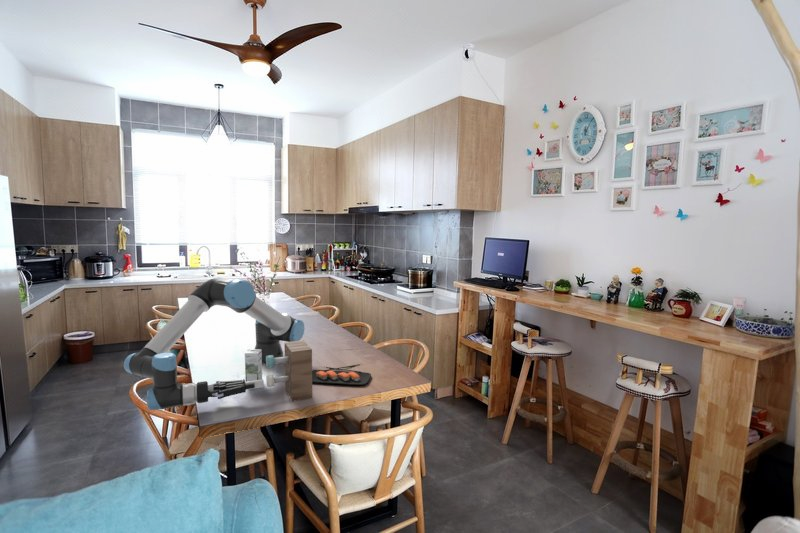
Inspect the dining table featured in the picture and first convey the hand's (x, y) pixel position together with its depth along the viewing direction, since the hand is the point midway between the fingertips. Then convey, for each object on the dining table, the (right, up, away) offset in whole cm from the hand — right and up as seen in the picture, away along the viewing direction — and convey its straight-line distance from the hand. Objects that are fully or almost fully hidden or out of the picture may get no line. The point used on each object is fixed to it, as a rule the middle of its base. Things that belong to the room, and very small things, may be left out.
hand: (263, 383), depth 163 cm
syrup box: (-10, -5, +18) cm, 21 cm away
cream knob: (+6, -2, +4) cm, 7 cm away
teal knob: (+6, +6, +3) cm, 9 cm away
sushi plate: (+27, -5, +31) cm, 41 cm away
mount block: (+12, -6, +7) cm, 15 cm away
